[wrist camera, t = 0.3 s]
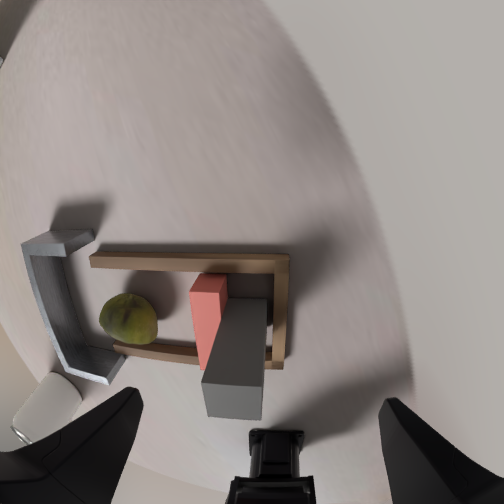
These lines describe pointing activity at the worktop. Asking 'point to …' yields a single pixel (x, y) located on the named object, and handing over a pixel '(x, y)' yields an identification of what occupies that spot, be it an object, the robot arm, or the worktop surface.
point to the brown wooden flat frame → (205, 263)
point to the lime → (129, 319)
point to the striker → (229, 348)
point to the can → (46, 409)
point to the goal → (65, 305)
